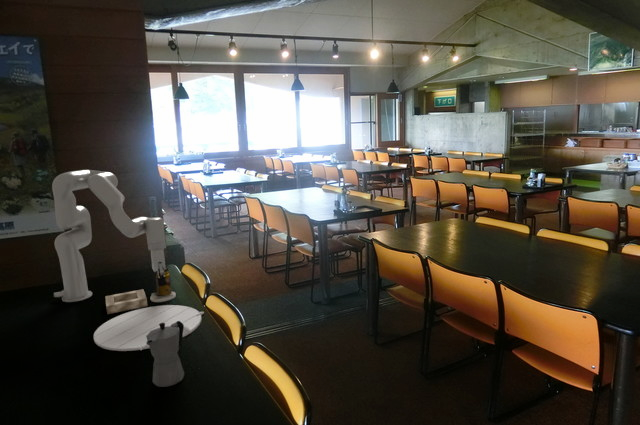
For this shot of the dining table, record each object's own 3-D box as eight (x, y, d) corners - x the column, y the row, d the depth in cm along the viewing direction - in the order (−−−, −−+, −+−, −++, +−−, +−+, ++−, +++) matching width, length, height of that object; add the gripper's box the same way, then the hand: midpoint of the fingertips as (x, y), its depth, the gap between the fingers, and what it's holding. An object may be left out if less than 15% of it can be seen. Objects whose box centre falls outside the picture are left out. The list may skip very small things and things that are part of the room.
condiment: (174, 294, 206) (171, 269, 204) (155, 298, 202) (151, 273, 199) (170, 290, 212) (167, 265, 210) (151, 294, 208) (147, 269, 205)
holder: (107, 314, 191) (106, 306, 190) (106, 303, 203) (105, 296, 202) (147, 306, 198) (146, 298, 197) (144, 296, 210) (143, 289, 209)
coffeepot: (166, 393, 129) (159, 334, 126) (140, 388, 133) (133, 330, 130) (199, 366, 144) (193, 313, 140) (175, 362, 147) (169, 310, 144)
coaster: (152, 304, 200) (151, 301, 200) (149, 296, 209) (148, 294, 209) (177, 298, 204) (177, 296, 204) (173, 291, 214) (173, 289, 214)
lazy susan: (223, 314, 185) (222, 306, 184) (151, 360, 150) (150, 350, 150) (150, 303, 202) (149, 296, 201) (70, 341, 167) (68, 333, 166)
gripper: (145, 242, 208) (150, 279, 212) (150, 250, 193) (154, 290, 196) (162, 240, 212) (167, 276, 215) (168, 248, 196) (172, 287, 200)
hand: (161, 283), depth 206 cm, fingers open, 6 cm apart
